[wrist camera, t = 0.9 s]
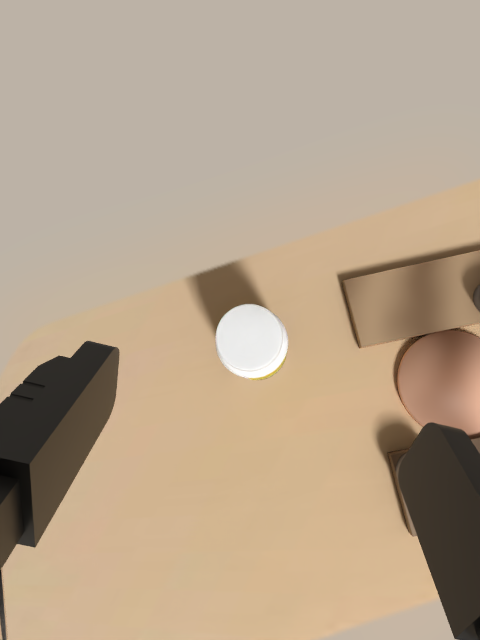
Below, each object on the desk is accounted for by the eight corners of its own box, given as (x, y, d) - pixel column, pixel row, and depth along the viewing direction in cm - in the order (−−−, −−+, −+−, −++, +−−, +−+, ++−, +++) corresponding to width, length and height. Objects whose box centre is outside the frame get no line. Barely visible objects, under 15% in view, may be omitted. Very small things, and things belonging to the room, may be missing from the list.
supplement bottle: (293, 332, 29) (300, 311, 21) (275, 388, 29) (275, 389, 20) (238, 314, 30) (224, 287, 22) (219, 368, 29) (197, 362, 21)
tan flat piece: (490, 250, 29) (509, 238, 27) (580, 501, 25) (612, 513, 23) (341, 282, 30) (347, 273, 27) (408, 532, 26) (422, 546, 24)
